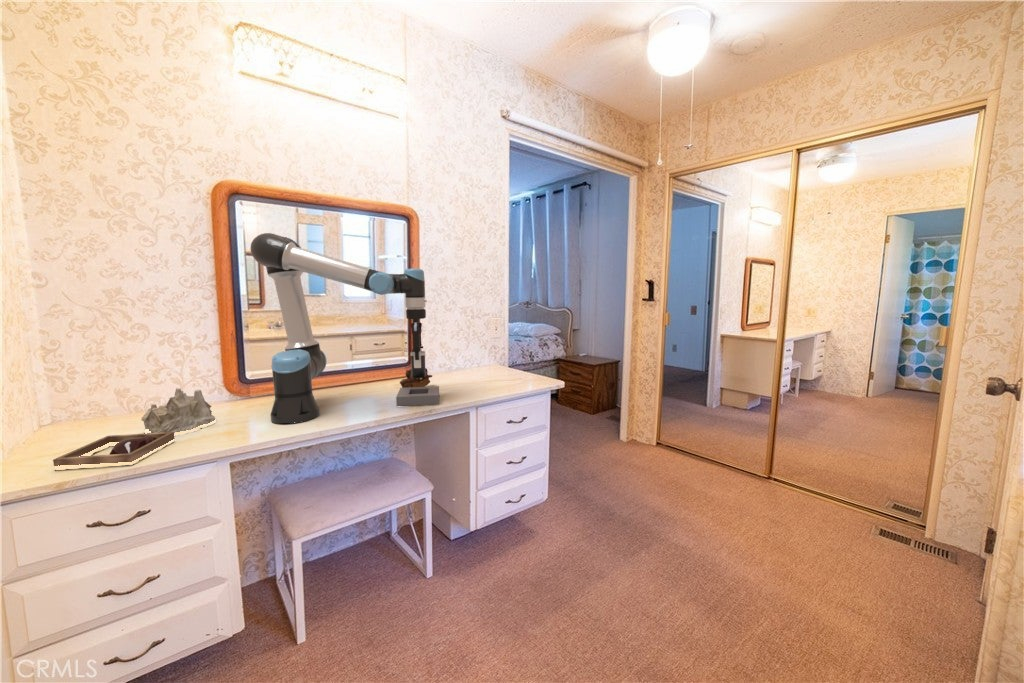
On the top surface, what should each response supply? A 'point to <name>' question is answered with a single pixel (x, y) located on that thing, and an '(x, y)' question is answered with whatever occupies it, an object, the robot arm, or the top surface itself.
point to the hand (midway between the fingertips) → (418, 366)
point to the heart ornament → (131, 445)
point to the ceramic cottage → (178, 413)
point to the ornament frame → (74, 458)
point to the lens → (418, 371)
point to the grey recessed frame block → (418, 396)
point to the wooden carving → (415, 380)
